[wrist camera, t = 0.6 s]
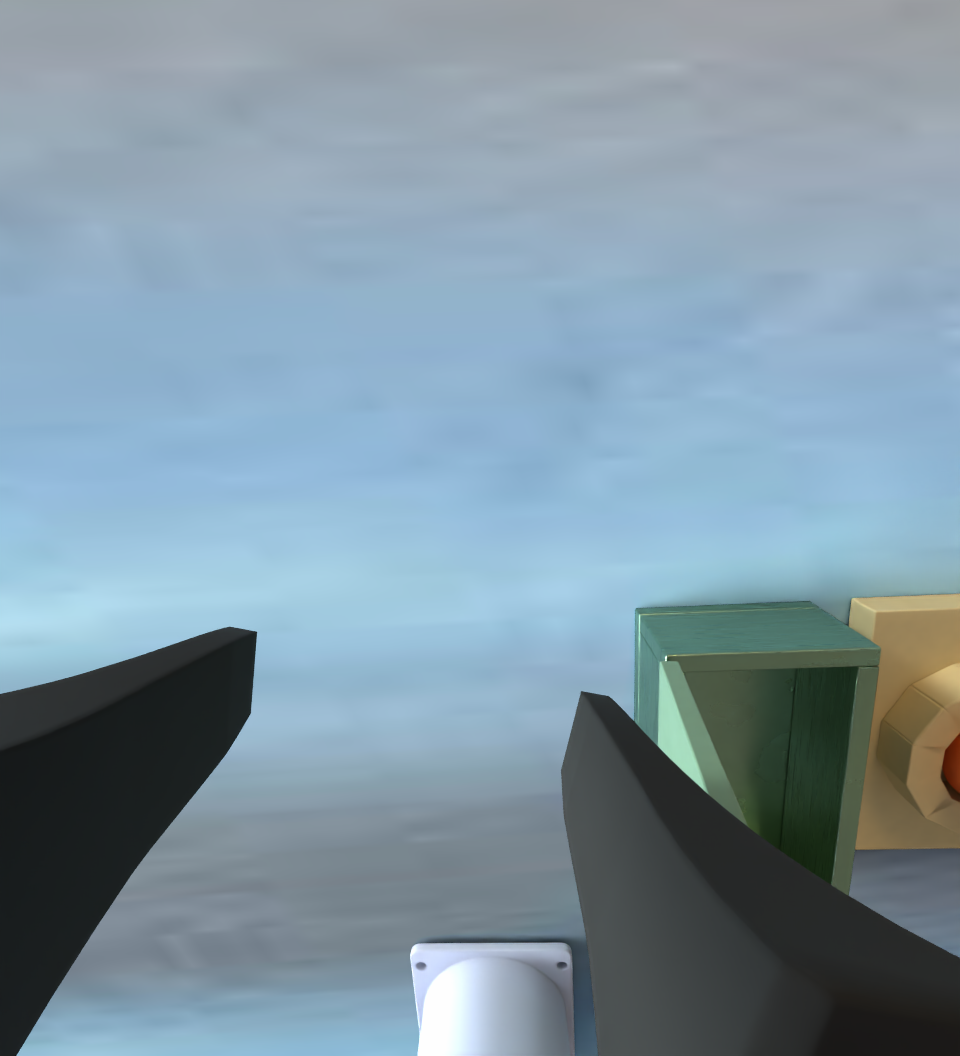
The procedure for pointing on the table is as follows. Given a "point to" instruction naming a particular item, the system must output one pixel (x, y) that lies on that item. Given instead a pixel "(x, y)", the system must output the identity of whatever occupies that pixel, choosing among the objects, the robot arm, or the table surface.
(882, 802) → the switch block
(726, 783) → the lid
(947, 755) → the switch
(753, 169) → the table surface
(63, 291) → the table surface
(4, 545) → the table surface
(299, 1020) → the table surface
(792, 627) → the box
